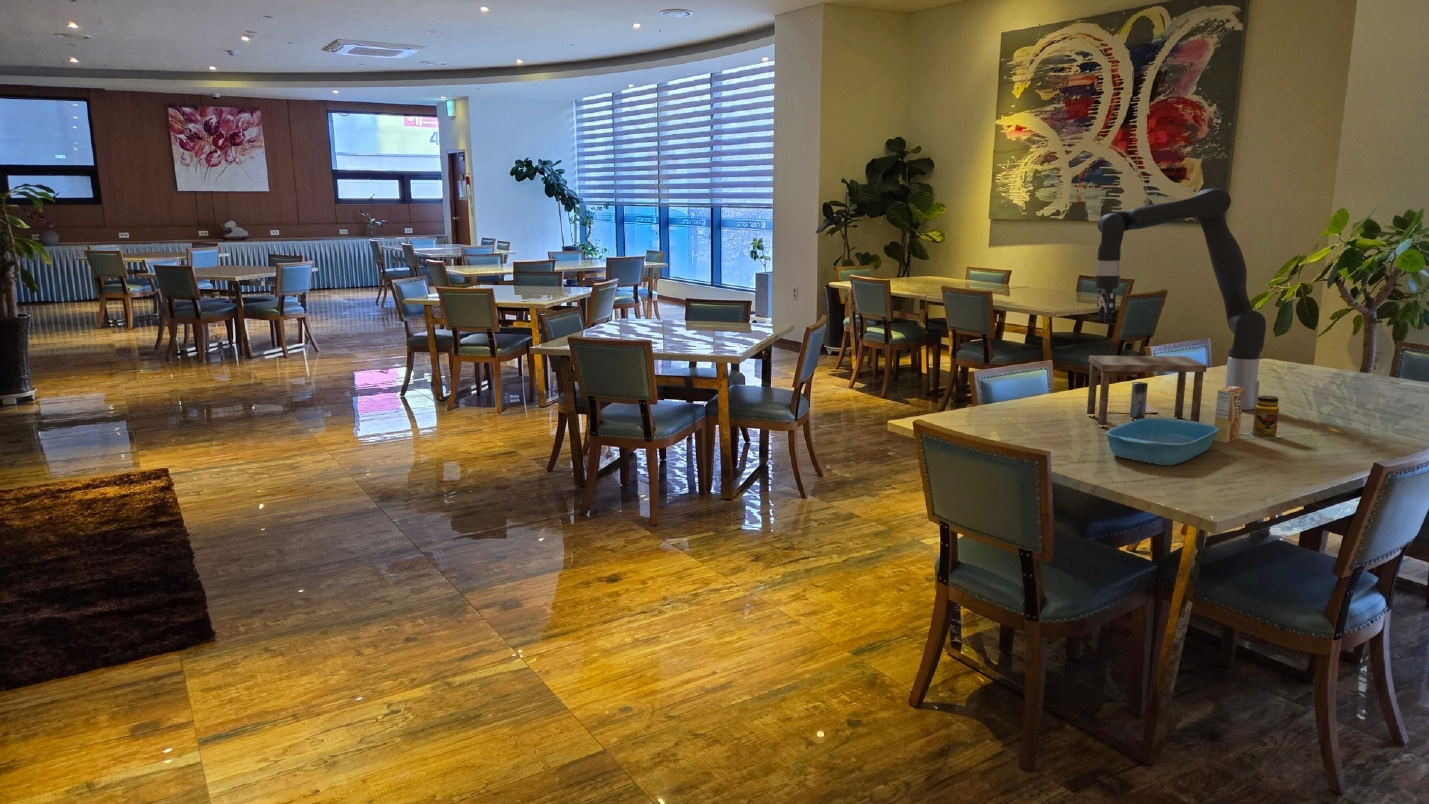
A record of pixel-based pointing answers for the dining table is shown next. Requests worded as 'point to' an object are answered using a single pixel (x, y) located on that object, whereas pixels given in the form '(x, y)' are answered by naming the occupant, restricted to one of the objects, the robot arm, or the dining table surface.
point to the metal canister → (1138, 400)
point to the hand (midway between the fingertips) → (1104, 322)
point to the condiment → (1265, 418)
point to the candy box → (1228, 413)
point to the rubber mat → (1148, 409)
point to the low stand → (1145, 365)
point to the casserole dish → (1161, 440)
